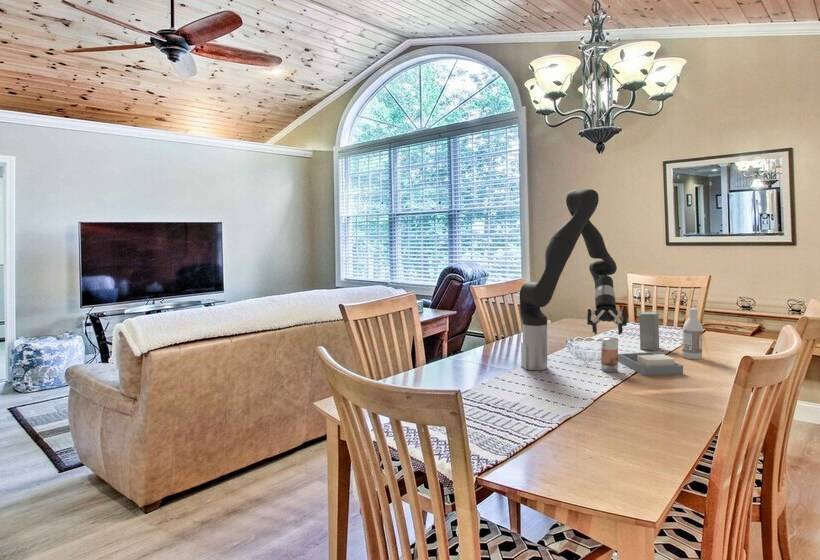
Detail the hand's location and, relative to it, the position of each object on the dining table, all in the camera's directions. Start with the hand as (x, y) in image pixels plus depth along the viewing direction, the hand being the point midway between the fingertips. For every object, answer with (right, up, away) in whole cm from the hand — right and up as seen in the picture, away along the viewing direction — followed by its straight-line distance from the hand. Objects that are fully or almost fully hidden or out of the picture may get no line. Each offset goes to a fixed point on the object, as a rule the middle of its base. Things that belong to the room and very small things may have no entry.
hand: (607, 333), depth 191 cm
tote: (+14, -13, -3) cm, 20 cm away
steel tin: (-2, -14, -6) cm, 15 cm away
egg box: (+14, -13, -8) cm, 21 cm away
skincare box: (+30, -10, +30) cm, 43 cm away
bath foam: (+39, -11, +13) cm, 43 cm away
